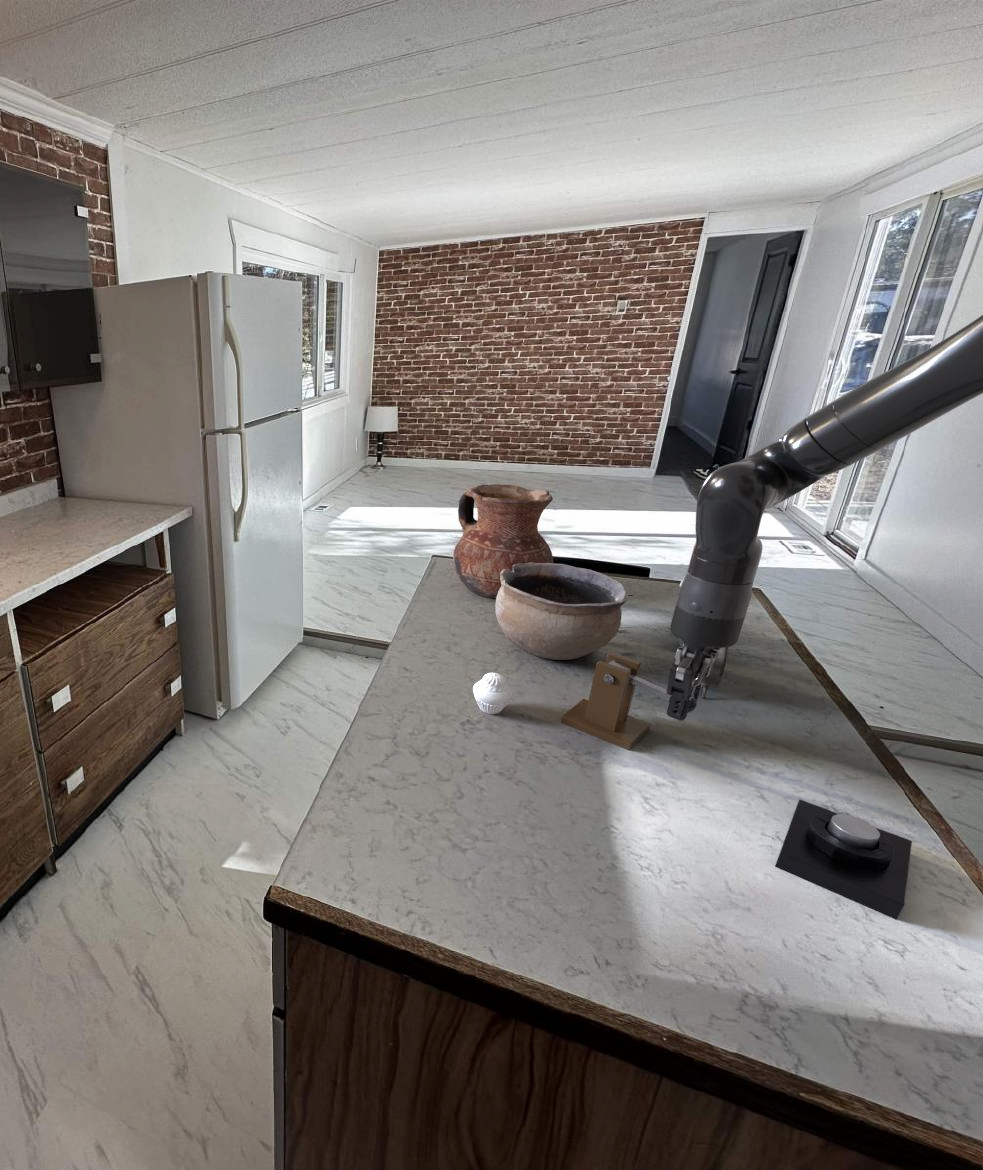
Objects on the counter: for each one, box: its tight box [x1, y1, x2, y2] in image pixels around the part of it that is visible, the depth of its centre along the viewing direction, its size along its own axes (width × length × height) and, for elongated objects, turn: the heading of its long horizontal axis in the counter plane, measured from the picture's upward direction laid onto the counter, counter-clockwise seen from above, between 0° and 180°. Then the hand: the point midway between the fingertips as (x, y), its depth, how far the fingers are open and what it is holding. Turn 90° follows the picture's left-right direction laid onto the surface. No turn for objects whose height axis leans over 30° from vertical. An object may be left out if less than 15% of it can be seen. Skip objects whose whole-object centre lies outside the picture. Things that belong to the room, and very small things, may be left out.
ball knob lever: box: [608, 660, 698, 714], centre depth 94 cm, size 12×3×3 cm, turn 38°
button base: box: [774, 799, 913, 920], centre depth 74 cm, size 13×10×4 cm
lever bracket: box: [560, 652, 651, 751], centre depth 98 cm, size 10×8×12 cm
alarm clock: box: [700, 647, 729, 699], centre depth 107 cm, size 11×5×16 cm, turn 147°
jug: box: [452, 483, 554, 599], centre depth 149 cm, size 22×21×25 cm
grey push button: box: [827, 813, 880, 850], centre depth 73 cm, size 4×4×2 cm
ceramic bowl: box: [494, 562, 630, 661], centre depth 122 cm, size 22×22×15 cm
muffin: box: [472, 672, 513, 715], centre depth 105 cm, size 6×6×7 cm
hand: (680, 712), depth 91 cm, fingers closed on ball knob lever, 3 cm apart
